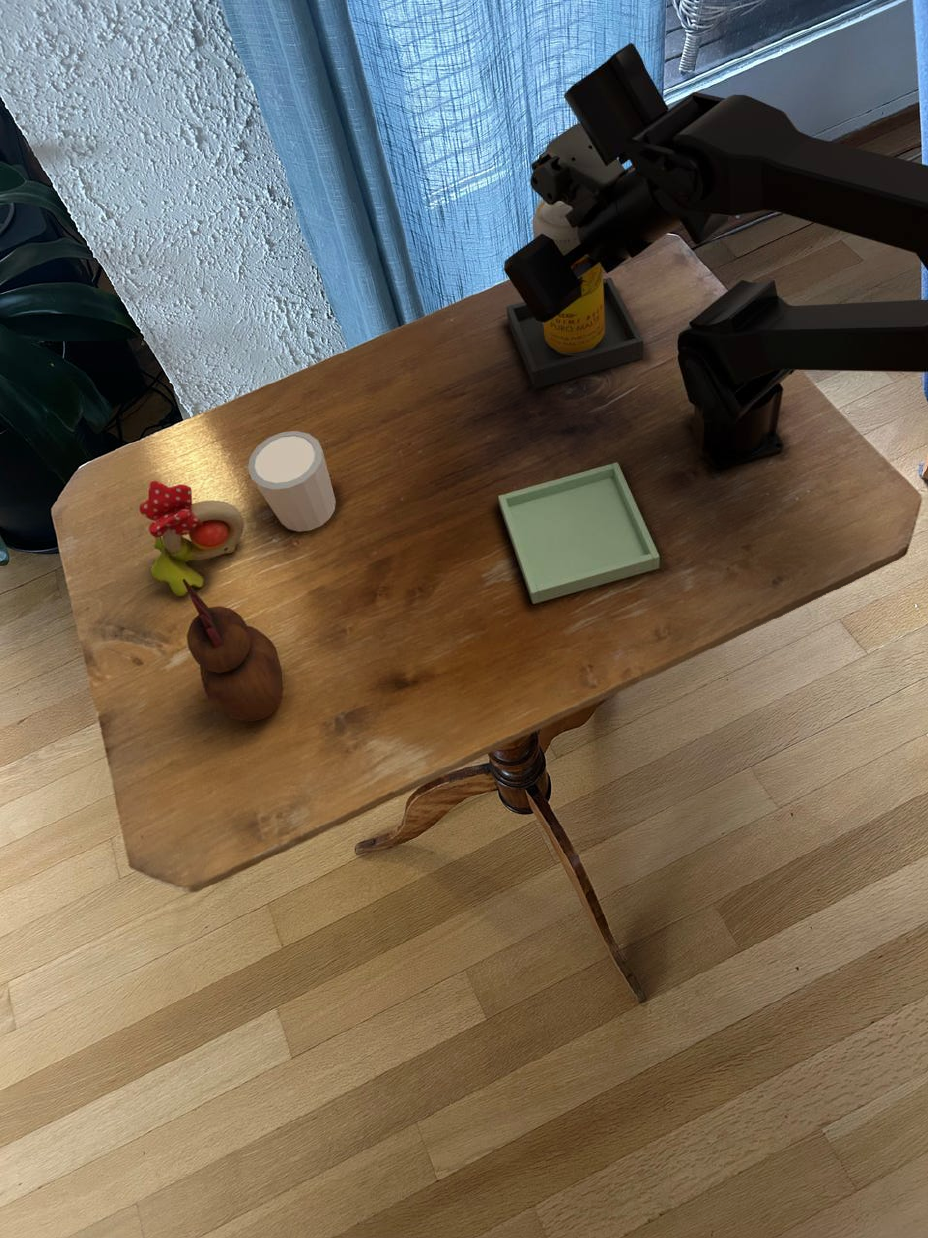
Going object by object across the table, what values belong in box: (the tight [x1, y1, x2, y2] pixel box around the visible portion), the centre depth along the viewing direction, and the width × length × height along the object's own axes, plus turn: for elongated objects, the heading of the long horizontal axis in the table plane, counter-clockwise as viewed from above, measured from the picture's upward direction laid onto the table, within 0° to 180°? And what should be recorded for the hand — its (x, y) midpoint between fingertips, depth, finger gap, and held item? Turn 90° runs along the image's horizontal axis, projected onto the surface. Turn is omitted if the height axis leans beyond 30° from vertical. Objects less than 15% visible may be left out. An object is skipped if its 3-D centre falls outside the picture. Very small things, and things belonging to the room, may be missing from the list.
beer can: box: [531, 198, 605, 355], centre depth 94 cm, size 6×6×15 cm
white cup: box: [247, 430, 336, 533], centre depth 91 cm, size 7×7×7 cm
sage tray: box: [497, 462, 660, 605], centre depth 87 cm, size 11×11×2 cm
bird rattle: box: [139, 480, 245, 597], centre depth 88 cm, size 6×11×9 cm
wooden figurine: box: [182, 579, 284, 722], centre depth 77 cm, size 7×6×15 cm
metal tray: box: [505, 276, 644, 390], centre depth 100 cm, size 11×10×2 cm
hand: (557, 264), depth 94 cm, fingers open, 9 cm apart
